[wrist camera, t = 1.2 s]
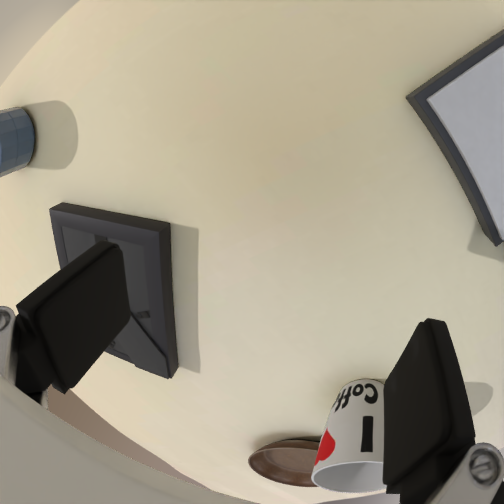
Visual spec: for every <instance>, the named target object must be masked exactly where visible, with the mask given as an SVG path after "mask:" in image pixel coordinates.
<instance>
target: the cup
mask: <svg viewBox="0 0 504 504" xmlns="http://www.w3.org/2000/svg"><path fill="white" fill-rule="evenodd" d="M383 389H384V385H383V384H382V383H380V382H378V381H375V380H370V379H362V380H356V381H353V382H350V383H348V384H347V385H345V386H344V387H343V388H342V389H341V391H340V393H339V395H338V397H337V399H336V401H335V403H334V405H333V406H332V408H331V411H330V414H329V417H328V420H327V423H326V426H325V428H324V431H323V434H322V437H321V440H320V444H319V449H318V453H317V457H316V461H315V465H314V469H313V472H312V476H311V480H312V482H313V483H314V484H316V485H317V486H319V487H321V488H323V489H326V490H330V491H334V492H341V493H365V492H372V491H378V490H382V489H385V488H387V485H384V484H383V481H382V477H383V454H384V397H383Z"/></svg>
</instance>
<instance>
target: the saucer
mask: <svg viewBox="0 0 504 504" xmlns="http://www.w3.org/2000/svg"><path fill="white" fill-rule="evenodd" d="M319 444H320V443H318V442H313V441H306V440H285V441H279V442H275V443H272V444H269V445H267V446H265V447H263V448H261V449H259V450H257V451H256V452H254V453H253V454H252V455H251V456H250V457H249V459H248V463H249V465H250V467H251V468H252V469H253V470H254V471H255V472H256V473H258V474H260V475H261V476H263V477H265V478H267V479H270V480H272V481H275V482H279V483H282V484H287V485H292V486H301V487H319V486H317V485H316V484H314V483H313V482H312V480H311V476H312V472H313V469H314V465H315V461H316V457H317V453H318V449H319Z"/></svg>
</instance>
